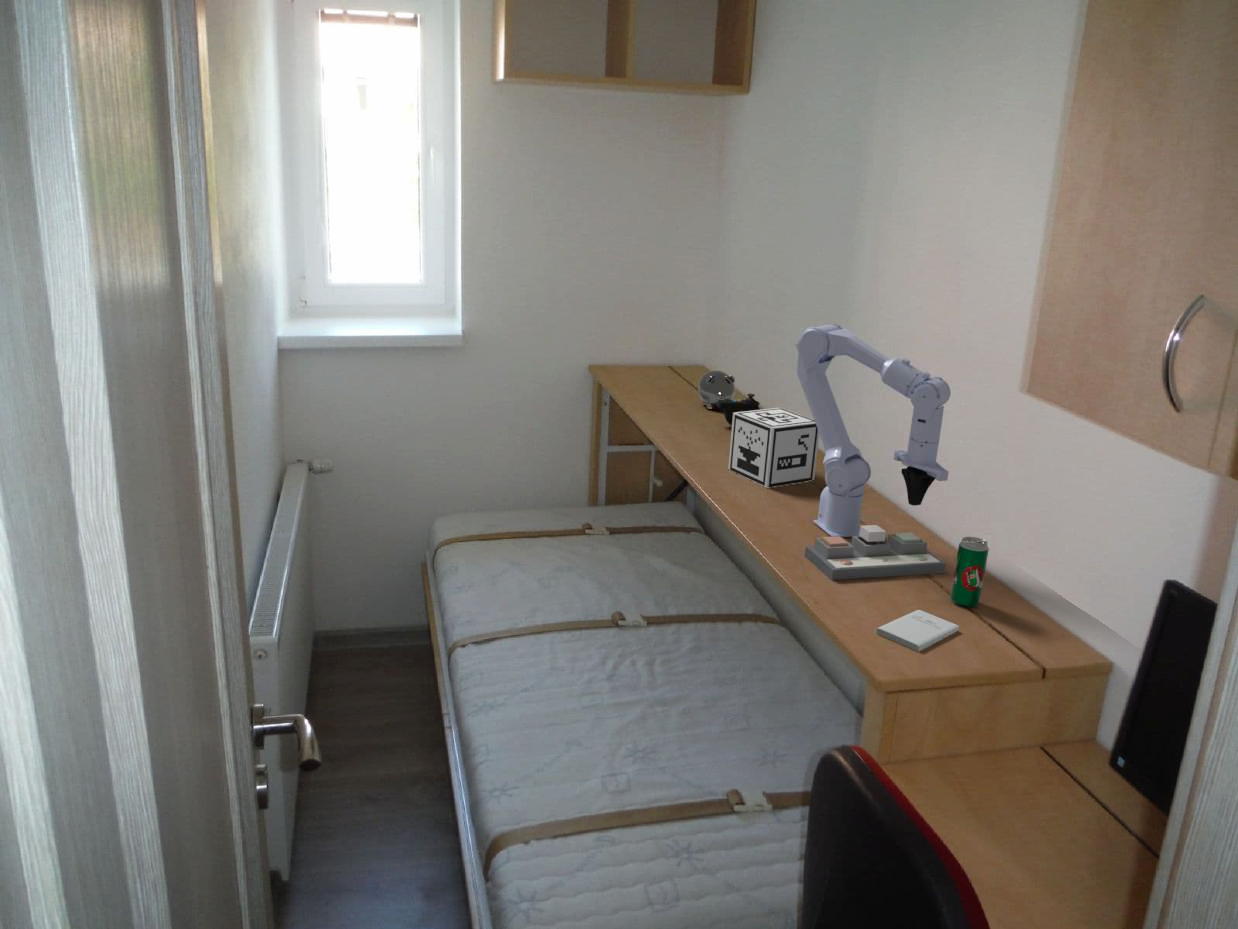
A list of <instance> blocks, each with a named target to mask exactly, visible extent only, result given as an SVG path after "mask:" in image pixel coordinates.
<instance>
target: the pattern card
mask: <svg viewBox="0 0 1238 929" xmlns="http://www.w3.org/2000/svg"><path fill="white" fill-rule="evenodd" d="M827 561H828V562H829V563H831V564H832V565H833V566H834V567H835V568H836V569H841V568H858V567H875V566H892V565H909V564H925V563H940V561H939V560H937V559H936V558H934V557H933V556H931V555H930V554H917V555H900V556H882V557H864V558H847V559H829V560H827Z"/></svg>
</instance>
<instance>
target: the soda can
mask: <svg viewBox="0 0 1238 929" xmlns="http://www.w3.org/2000/svg"><path fill="white" fill-rule="evenodd" d="M989 549H990V548H989V546H988V541H987V540H985V539H983V538H980V537H976V536H965V537H962V539H961V541H960V542H959V543H958V549H957V554H956V560H955V567H954V571H953V572H954V574H953V577H952V578H953V580H952V587H951V592H950V599H951V601H952V602H953V603H954V604H955V605H957V606H960V607H963V608H974V607H976V606H978V605H979V604H980V603H981V597H982V593H983V592H982V590H983V584H984V579H985V573H986V569H987V568H986V566H987V561H988V557H989V556H988V555H989Z"/></svg>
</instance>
